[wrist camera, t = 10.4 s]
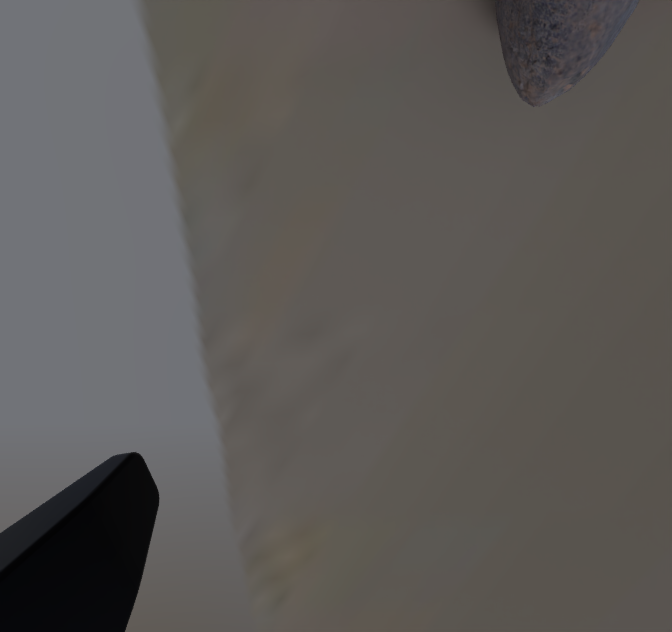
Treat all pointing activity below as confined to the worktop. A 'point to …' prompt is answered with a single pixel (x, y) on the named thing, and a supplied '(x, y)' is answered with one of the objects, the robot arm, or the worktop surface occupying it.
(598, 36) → the perforated stone tool
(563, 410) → the worktop surface
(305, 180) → the worktop surface
